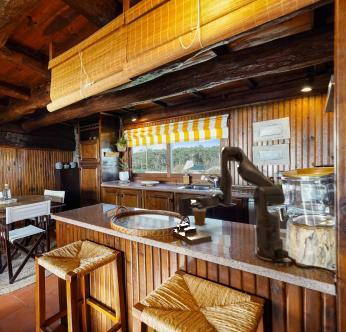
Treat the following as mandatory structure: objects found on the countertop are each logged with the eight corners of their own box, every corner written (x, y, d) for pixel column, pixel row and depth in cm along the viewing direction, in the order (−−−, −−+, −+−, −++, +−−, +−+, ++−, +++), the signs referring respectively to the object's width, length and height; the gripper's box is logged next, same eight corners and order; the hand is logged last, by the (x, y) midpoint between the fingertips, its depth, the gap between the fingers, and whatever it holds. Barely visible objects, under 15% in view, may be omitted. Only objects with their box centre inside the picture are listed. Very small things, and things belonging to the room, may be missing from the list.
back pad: (191, 215, 130) (190, 197, 130) (183, 216, 128) (182, 198, 127) (187, 214, 133) (187, 197, 133) (179, 215, 131) (179, 198, 131)
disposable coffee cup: (209, 225, 148) (208, 208, 147) (195, 226, 148) (194, 209, 147) (203, 221, 157) (203, 205, 157) (191, 222, 157) (190, 206, 157)
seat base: (211, 240, 120) (211, 231, 120) (191, 245, 116) (191, 235, 115) (190, 231, 137) (190, 223, 137) (172, 235, 132) (172, 226, 132)
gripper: (196, 195, 142) (174, 197, 136) (211, 198, 129) (188, 201, 122) (196, 206, 142) (174, 209, 136) (212, 210, 129) (189, 214, 123)
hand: (181, 205), depth 129 cm, fingers closed on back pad, 3 cm apart
